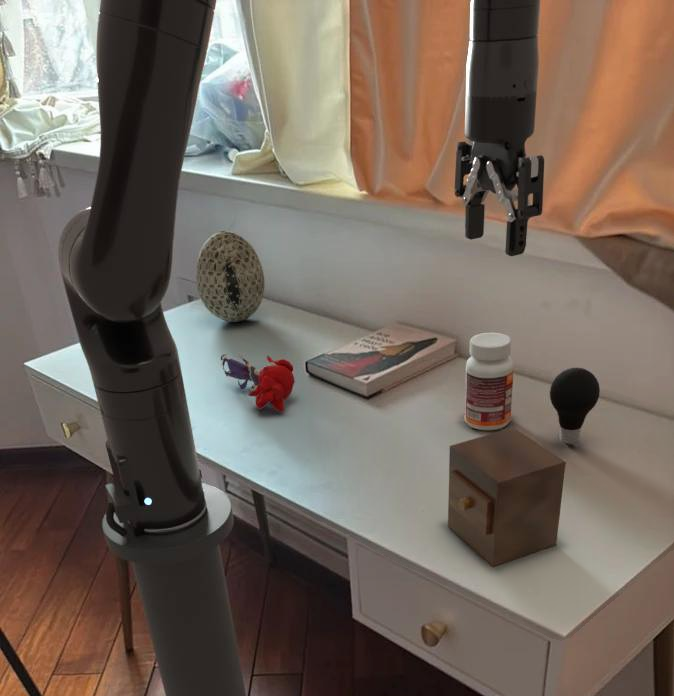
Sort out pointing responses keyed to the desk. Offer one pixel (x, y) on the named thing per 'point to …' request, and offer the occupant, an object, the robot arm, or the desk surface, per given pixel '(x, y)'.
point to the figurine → (264, 380)
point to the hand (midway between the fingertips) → (494, 246)
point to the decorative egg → (229, 277)
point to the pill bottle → (489, 382)
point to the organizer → (505, 495)
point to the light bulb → (573, 400)
